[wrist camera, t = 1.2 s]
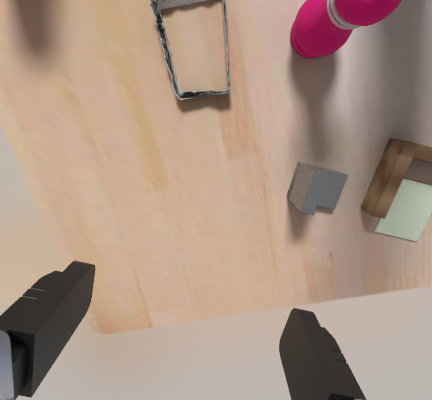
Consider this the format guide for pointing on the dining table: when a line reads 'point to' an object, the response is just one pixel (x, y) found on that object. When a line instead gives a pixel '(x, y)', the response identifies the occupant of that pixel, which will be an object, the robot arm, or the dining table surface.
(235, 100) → the dining table surface
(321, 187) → the bracket
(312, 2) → the pepper mill
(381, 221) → the pad
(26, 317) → the robot arm
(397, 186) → the wooden corner frame
